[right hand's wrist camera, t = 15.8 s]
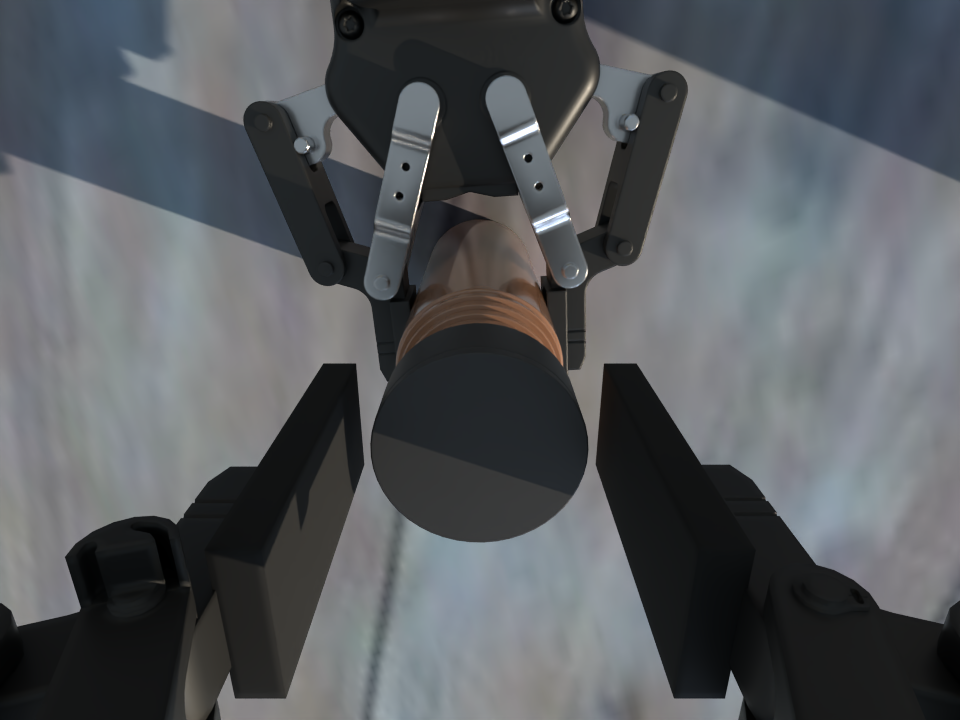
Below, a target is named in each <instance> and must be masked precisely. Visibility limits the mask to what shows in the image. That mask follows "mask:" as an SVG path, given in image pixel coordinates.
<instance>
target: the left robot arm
mask: <svg viewBox="0 0 960 720" xmlns="http://www.w3.org/2000/svg"><path fill="white" fill-rule="evenodd" d="M330 3H331V10H332V18H333V25H334V48H333V53H332V57H331V61H330V64H329V66H328V69H327V72H326V77H325V84H324V85H321V86H319V87H316V88H313V89H311V90H308V91H305V92H303V93H300V94H297V95H295V96H292V97H289V98H287V99H284V100H281V101H278V102H277V101H258V102H254V103H252V104H251V105H249V106H248V108H247V109H246V111H245V113H244V119H243V120H244V126H245V129H246V131H247V134H248V136H249V138H250V140H251V143H252V145H253V147H254V149H255V152H256V154H257V156H258V158H259V161H260V163H261V165H262V167H263V170H264V172H265V174H266V176H267V179H268V181H269V183H270V186H271V188H272V190H273V192H274V195H275V197H276V199H277V201H278V204H279V206H280V208H281V210H282V213H283V215H284V217H285V219H286V222H287V224H288V226H289V228H290V231H291V233H292V235H293V237H294V240H295V242H296V244H297V246H298V249H299V251H300V253H301V255H302V258H303V260H304V262H305V264H306V267H307V269H308V271H309V273H310V275H311V277H312V278H313V280H314V281H316V282H317V283H319V284H321V285H324V286H332V285H335V284H340V285H344V286H347V287H351V288H354V289H357V290H359V291H361V292H362V293H364V294H365V295H366V296H367V298H368V299H369V301H370V303H371V306H372V312H373V319H374V327H375V334H376V341H377V349H378V354H379V363H380V370H381V371H382V373H383V375H384V377H385V378H386V380H387V382H388V381H389V379H390V377H391V374H392V372H393V371H394V369H395V368H396V356H397V350H398V346H399V343H400V340H401V337H402V334H403V331H404V329H405V326H406V323H407V320H408V318H409V315H410V312H411V309H412V306H413V304H414V301H415V298H416V295H417V294H416V285H409V278H408V265H409V261H410V257H411V253H412V248H413V244H414V240H415V236H416V231H417V228H418V224H419V221H420V217H421V213H422V209H423V205H424V202H425V201H440V200H447V199H450V198H453V197H456V196H459V195H462V194H465V193H468V192H473V193H478V194H483V195H488V196H493V197H499V196H514V195H518V192H519V195H520V198H521V200H522V203H523V205H524V208H525V210H526V213H527V215H528V218H529V220H530V223H531V225H532V228H533V230H534V233H535V236H536V238H537V241H538V243H539V246H540V248H541V251H542V254H543V256H544V259H545V261H546V274H547V276H541V292H542V295H543V298H544V301H545V303H546V306H547V309H548V312H549V315H550V317H551V320H552V323H553V326H554V329H555V332H556V334H557V337H558V340H559V343H560V346H561V350H562V355H563V367H564V369H565V371H566V373H567V375H568V370H579V369H581V366H582V364H583V362H584V359H585V357H586V341H585V340H586V331H585V329H586V288H587V285H588V283H589V281H590V280H591V279H592V278H593V277H594V276H595V275H596V274H598V273H600V272H602V271H604V270H607V269H609V268H611V267H614V266H616V265H619V266H627V265H630V264H632V263H634V262H635V261H636V260H637V259H638V258H639V256H640V255H641V252H642V249H643V246H644V242H645V239H646V235H647V232H648V228H649V225H650V221H651V218H652V215H653V211H654V208H655V204H656V201H657V197H658V194H659V191H660V187H661V184H662V180H663V177H664V173H665V170H666V166H667V163H668V160H669V156H670V153H671V149H672V146H673V142H674V139H675V136H676V132H677V129H678V125H679V122H680V118H681V115H682V111H683V108H684V105H685V101H686V98H687V93H688V87H687V82H686V80H685V79H684V77H683V76H682V75H681V74H680V73H678V72H676V71H664V72H660V73H656V74H652V75H649V74H644V73H639V72H635V71H630V70H625V69H621V68H616V67H611V66H607V65H602V64H600V61H599V57H598V54H597V51H596V49H595V48H594V46H593V44H592V42H591V40H590V38H589V35H588V33H587V30H586V26H585V22H584V15H583V0H330ZM591 98H593V99H595V100H596V101H598V103H599V104H600V105H601V107H602V110H603V130H604V132H605V134H606V135H607V136H608V137H609V138H610V139H611V140H614V141H617V143H616V147H615V151H614V155H613V159H612V163H611V167H610V171H609V175H608V178H607V182H606V186H605V190H604V194H603V198H602V202H601V206H600V209H599V213H598V217H597V221H596V225H595V227H594V228H591V229H589V230H587V231H584V232H582V233H580V234H578V235H576V232H575V230H574V227H573V224H572V221H571V218H570V214H569V210H568V207H567V204H566V201H565V198H564V196H563V193H562V190H561V187H560V185H559V182H558V179H557V176H556V174H555V171H554V168H553V165H552V163H551V160H552V159H553V157H554V156H555V154H556V153H557V151H558V149H559V148H560V146H561V145H562V143H563V142H564V140H565V138H566V137H567V135H568V134H569V132H570V131H571V129H572V128H573V126H574V124H575V123H576V121H577V120H578V118H579V117H580V115H581V114H582V112H583V110H584V109H585V107H586V106H587V104H588V103H589V101H590V99H591ZM337 117H339V118H340V119H341V120H342V121H343V123H344V124H345V125H346V126H347V127H348V128H349V130H350V131H351V132H352V133H353V134H354V136H355V137H356V138H357V139H358V140H359V141H360V143H361V144H362V145H363V146H364V147H365V148H366V150H367V151H368V152H369V153H370V154H371V155H372V157H373V158H374V159H375V160H376V161H377V163H378V164H379V165H380V166H381V167H382V168H383V170H384V171H385V172H384V177H383V181H382V186H381V191H380V196H379V200H378V205H377V210H376V215H375V220H374V234H373V239H372V243H371V248H370V247H366V246H363V245H359V244H356V243H354V241H353V238H352V236H351V233H350V231H349V228H348V226H347V224H346V221H345V219H344V216H343V214H342V211H341V209H340V206H339V204H338V201H337V199H336V197H335V194H334V192H333V189H332V187H331V184H330V182H329V179H328V177H327V174H326V172H325V170H324V167H323V165H322V161H324V160H325V159H327V158H328V157H329V155H330V153H331V151H332V140H331V136H330V128H331V125H332V123H333V121H334V120H335V119H336V118H337Z"/></svg>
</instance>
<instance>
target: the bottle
mask: <svg viewBox="0 0 960 720" xmlns="http://www.w3.org/2000/svg"><path fill="white" fill-rule="evenodd" d="M472 323H488V324H495V325H502V326H506V327H509V328H513V329H516V330H518V331H520V332H523V333H525V334H527V335H529V336H531V337H532V338H534V339H536V340H537V341H539V342H540V343H541V344H543V345H544V346H545V347H546V348H548V349H549V350H550V351H551V352H552V353H553V355H554V356H555V357H556V358H557V359H558V360H559V362H560V363H561V365H562V366H563V355H562V350H561V346H560V343H559V340H558V337H557V334H556V332H555V329H554V326H553V323H552V320H551V317H550V315H549V312H548V309H547V306H546V303H545V301H544V298H543V295H542V292H541V289H540V286H539V284H538V281H537V278H536V275H535V272H534V270H533V267H532V264H531V261H530V258H529V255H528V253H527V250H526V248H525V246H524V244H523V243H522V241H521V240H520V238H519V237H518V236H517V235H516V234H515V233H514V232H513V231H512V230H510V229H509V228H507V227H506V226H504V225H502V224H500V223H497V222H494V221H490V220H481V219H477V220H469V221H465V222H462V223H460V224H457V225H456V226H454V227H452V228H451V229H449V230H448V231H447V232H446V233H444V234H443V235H442V236H441V238H440V239H439V240H438V242H437V243H436V245H435V247H434V249H433V251H432V254H431V256H430V259H429V262H428V265H427V267H426V270H425V273H424V276H423V279H422V281H421V284H420V287H419V290H418V292H417V295H416V298H415V301H414V304H413V306H412V309H411V312H410V315H409V318H408V320H407V323H406V326H405V329H404V331H403V334H402V337H401V340H400V343H399V346H398V350H397V356H396V366H397V364H398V363H399V361H400V360H401V359H402V358H403V357H404V355H405V354H406V353H407V352H408V351H409V350H410V349H412V348H413V347H414V346H415V345H416V344H417V343H419V342H420V341H422V340H423V339H425V338H426V337H428V336H430V335H432V334H434V333H436V332H438V331H441V330H444V329H446V328H449V327H453V326H458V325H462V324H472Z"/></svg>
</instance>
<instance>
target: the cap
mask: <svg viewBox="0 0 960 720" xmlns="http://www.w3.org/2000/svg"><path fill="white" fill-rule="evenodd" d="M370 445H371V459H372V464H373V469H374V472H375V475H376V478H377V481H378V483H379V484H380V486H381V488H382V490H383V492H384V494H385V495H386V496H387V498H388V499H389V501H390V502H391V503H392V504H393V505H394V506H395V508H396V509H397V510H398V511H399V512H400V513H402V514H403V515H404V516H405V517H406V518H407V519H409V520H410V521H412V522H413V523H415V524H416V525H418V526H419V527H421V528H423V529H425V530H427V531H429V532H431V533H434V534H436V535H439V536H442V537H445V538H449V539H453V540H458V541H466V542H493V541H500V540H505V539H510V538H513V537H517V536H520V535H523V534H525V533H527V532H530V531H532V530H534V529H536V528H538V527H539V526H541V525H543V524H544V523H546V522H547V521H549V520H550V519H551V518H553V517H554V516H555V515H556V514H557V513H558V512H559V511H560V510H561V509H563V508H564V507H565V505H566V504H567V503H568V502H569V500H570V499H571V498H572V496H573V495H574V493H575V491H576V490H577V488H578V486H579V484H580V482H581V480H582V477H583V475H584V472H585V468H586V464H587V457H588V436H587V430H586V425H585V422H584V419H583V416H582V414H581V411H580V408H579V405H578V402H577V399H576V396H575V393H574V390H573V387H572V385H571V382H570V379H569V377H568V375H567V373H566V371H565V369H564V367H563V366H562V365H561V363H560V362H559V360H558V359H557V358H556V357H555V356H554V355H553V353H552V352H551V351H550V350H549V349H548V348H546V347H545V346H544V345H543V344H541V343H540V342H539V341H537V340H536V339H534V338H532V337H531V336H529V335H527V334H525V333H523V332H520V331H518V330H516V329H513V328H509V327H506V326H502V325H495V324H488V323H472V324H462V325H458V326H453V327H449V328H446V329H444V330H441V331H438V332H436V333H434V334H432V335H430V336H428V337H426V338H425V339H423V340H422V341H420V342H419V343H417V344H416V345H415V346H414V347H413V348H412V349H410V350H409V351H408V352H407V353H406V354H405V355H404V357H403V358H402V359H401V360H400V361H399V363H398V364H397V366H396V368H395V369H394V371H393V372H392V374H391V377H390V379H389V381H388V384H387V387H386V389H385V392H384V395H383V398H382V401H381V404H380V407H379V410H378V413H377V415H376V418H375V421H374V425H373V429H372V435H371V444H370Z"/></svg>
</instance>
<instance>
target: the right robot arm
mask: <svg viewBox="0 0 960 720" xmlns="http://www.w3.org/2000/svg"><path fill="white" fill-rule="evenodd" d="M363 467H364V455H363V443H362V431H361V419H360V407H359V395H358V382H357V370H356V364H323V365H322V367H321V368H320V370H319V371H318V373H317V375H316V376H315V378H314V379H313V381H312V382H311V384H310V385H309V387H308V389H307V390H306V392H305V393H304V395H303V396H302V398H301V400H300V401H299V403H298V404H297V406H296V407H295V409H294V410H293V412H292V414H291V415H290V417H289V418H288V420H287V421H286V423H285V425H284V426H283V428H282V429H281V431H280V432H279V434H278V435H277V437H276V439H275V440H274V442H273V443H272V445H271V446H270V448H269V450H268V451H267V453H266V454H265V456H264V457H263V459H262V460H261V462H260V464H259V465H258V467H229V468H228V469H226V470H225V471H223V472H222V473H221V474H219V475H218V476H216V477H215V478H213V479H212V480H210V481H209V482H208V483H207V484H206V486H205V487H204V488H203V490H202V491H201V492H200V494H199V495H198V496H197V498H196V499H195V503H192V504H191V506H190V507H189V508H188V510H187V511H186V512H185V514H184V518H181V519H180V520H179V522H178V523H177V524H174V523H173V522H172V521H171V520H170V519H166V518H162V517H157V516H143V517H133V518H129V519H125V520H121V521H117V522H113V523H111V524H109V525H107V526H104V527H102V528H100V529H98V530H95V531H93V532H92V533H90V534H89V535H87V536H86V537H85V538H83V539H82V540H80V541H79V542H77V543H76V544H75V545H74V546H73V548H72V549H71V550H70V551H69V553H68V554H67V555H66V556H65V559H66V562H67V565H68V568H69V571H70V574H71V578H72V581H73V584H74V587H75V590H76V593H77V597H78V600H79V603H80V606H81V609H80V612H77V613H74V614H70V615H67V616H62V617H58V618H54V619H49V620H45V621H40V622H36V623H31V624H27V625H23V626H18V627H17V625H16V623H15V620H14V617H13V614H12V612H11V610H9V609H8V608H7V607H6V606H4V605H3V604H2V603H0V720H221V718H220V711H219V706H218V702H217V698H218V696H219V693H220V691H221V689H222V687H223V685H224V682H225V680H226V678H227V676H228V674H229V671H230V676H231V681H232V686H233V691H234V695H235V698H286V697H287V694H288V691H289V688H290V685H291V682H292V679H293V676H294V673H295V670H296V667H297V664H298V661H299V658H300V655H301V652H302V649H303V646H304V643H305V640H306V637H307V634H308V631H309V628H310V625H311V622H312V619H313V616H314V613H315V610H316V607H317V604H318V601H319V598H320V595H321V592H322V589H323V586H324V583H325V580H326V577H327V574H328V571H329V568H330V565H331V562H332V559H333V556H334V553H335V550H336V547H337V544H338V541H339V538H340V535H341V532H342V529H343V526H344V523H345V520H346V518H347V515H348V512H349V509H350V506H351V503H352V500H353V497H354V494H355V491H356V488H357V485H358V482H359V479H360V476H361V473H362V470H363ZM596 467H597V470H598V473H599V476H600V479H601V482H602V485H603V488H604V491H605V494H606V497H607V500H608V503H609V506H610V509H611V512H612V515H613V517H614V520H615V523H616V526H617V529H618V532H619V535H620V538H621V541H622V544H623V547H624V550H625V553H626V556H627V559H628V562H629V565H630V568H631V571H632V574H633V577H634V580H635V583H636V586H637V589H638V592H639V595H640V598H641V601H642V604H643V607H644V610H645V613H646V616H647V619H648V622H649V625H650V628H651V631H652V634H653V637H654V640H655V643H656V646H657V649H658V652H659V655H660V658H661V661H662V664H663V667H664V670H665V673H666V676H667V679H668V682H669V685H670V688H671V691H672V694H673V697H674V698H725V695H726V691H727V686H728V681H729V676H730V671H731V670H732V673H733V675H734V677H735V679H736V681H737V684H738V686H739V688H740V690H741V692H742V695H743V702H742V706H741V710H740V715H739V719H738V720H960V601H958V602H957V603H956V604H955V605H953V606H952V607H951V608H950V609H949V612H948V614H947V617H946V620H945V623H944V624H940V623H936V622H931V621H927V620H922V619H918V618H914V617H909V616H905V615H900V614H896V613H892V612H888V611H885V610H882V609H880V608H879V606H878V605H877V603H876V602H875V601H874V599H873V598H872V596H871V595H870V593H869V592H867V591H866V590H865V589H864V588H863V587H861V586H860V585H859V584H858V583H856V582H855V581H854V580H852V579H850V578H848V577H846V576H844V575H842V574H840V573H839V572H837V571H835V570H832V569H828V568H825V567H821V566H818V565H816V564H815V563H814V561H813V560H812V559H811V557H810V556H809V555H808V553H807V552H806V551H805V549H804V548H803V547H802V545H801V544H800V543H799V541H798V540H797V539H796V537H795V536H794V535H793V533H792V532H791V531H790V529H789V528H788V527H787V525H786V524H785V523H784V522H783V520H782V519H781V518H780V516H777V514H776V513H777V512H776V511H775V510H774V508H773V507H772V506H771V504H770V503H769V502H768V501H766V500H765V496H764V495H763V494H762V492H761V491H760V490H759V488H758V487H757V486H756V484H755V483H754V482H753V480H751V479H750V478H749V477H747V476H746V475H744V474H743V473H741V472H740V471H738V470H737V469H735V468H734V467H732V466H731V465H701V464H700V462H699V460H698V459H697V457H696V456H695V454H694V453H693V451H692V450H691V448H690V446H689V445H688V443H687V442H686V440H685V439H684V437H683V435H682V434H681V432H680V431H679V429H678V428H677V426H676V425H675V423H674V421H673V420H672V418H671V417H670V415H669V414H668V412H667V410H666V409H665V407H664V406H663V404H662V403H661V401H660V400H659V398H658V396H657V395H656V393H655V392H654V390H653V389H652V387H651V385H650V384H649V382H648V381H647V379H646V378H645V376H644V375H643V373H642V371H641V370H640V368H639V367H638V365H637V364H604V370H603V382H602V395H601V407H600V419H599V431H598V443H597V455H596Z"/></svg>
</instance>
